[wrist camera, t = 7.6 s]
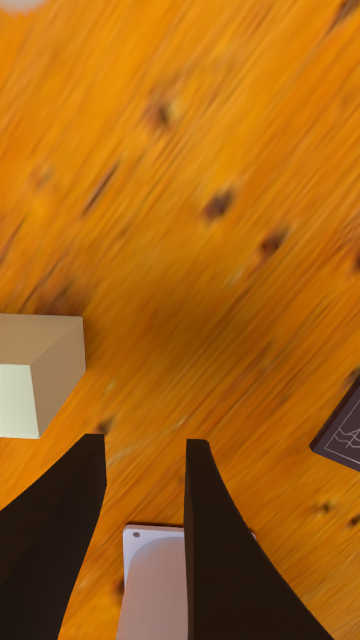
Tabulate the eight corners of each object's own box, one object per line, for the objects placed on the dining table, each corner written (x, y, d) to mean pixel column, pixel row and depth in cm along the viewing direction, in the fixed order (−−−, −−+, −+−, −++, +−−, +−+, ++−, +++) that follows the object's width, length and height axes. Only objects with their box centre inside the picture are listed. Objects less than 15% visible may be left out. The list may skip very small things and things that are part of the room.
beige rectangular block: (82, 316, 19) (29, 365, 13) (86, 370, 20) (39, 438, 14) (-18, 312, 20) (-117, 358, 13) (-9, 366, 21) (-97, 432, 14)
